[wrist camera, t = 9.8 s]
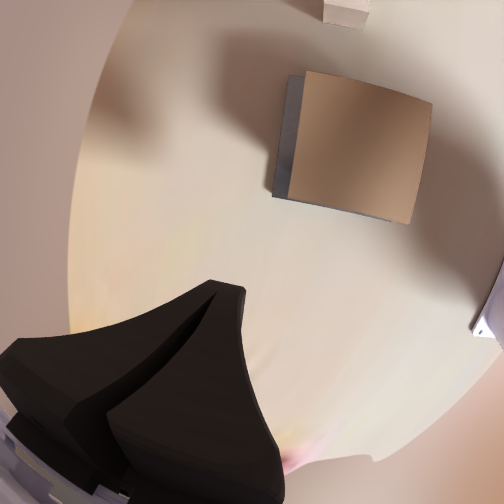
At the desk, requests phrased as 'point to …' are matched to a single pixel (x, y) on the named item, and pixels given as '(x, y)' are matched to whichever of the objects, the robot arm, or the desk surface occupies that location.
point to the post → (292, 142)
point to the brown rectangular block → (359, 147)
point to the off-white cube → (346, 12)
